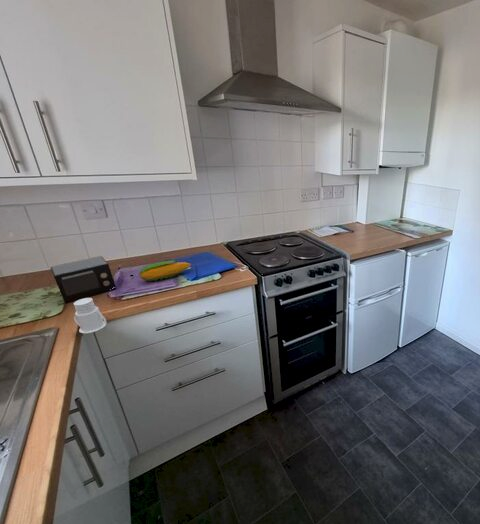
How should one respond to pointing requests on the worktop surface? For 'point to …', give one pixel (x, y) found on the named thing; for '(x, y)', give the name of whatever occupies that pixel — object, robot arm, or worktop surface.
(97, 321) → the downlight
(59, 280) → the toaster oven
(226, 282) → the worktop surface
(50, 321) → the worktop surface
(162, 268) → the corn
